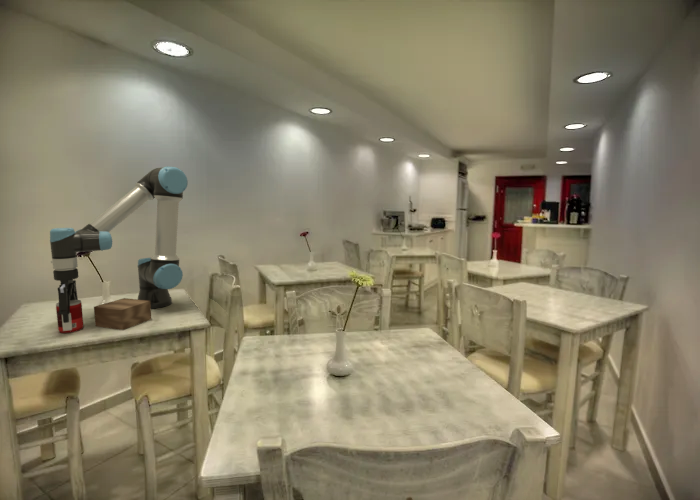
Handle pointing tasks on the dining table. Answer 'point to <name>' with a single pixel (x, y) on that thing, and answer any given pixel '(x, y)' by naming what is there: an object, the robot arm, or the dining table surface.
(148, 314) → the walnut block
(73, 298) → the robot arm
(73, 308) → the canned food
